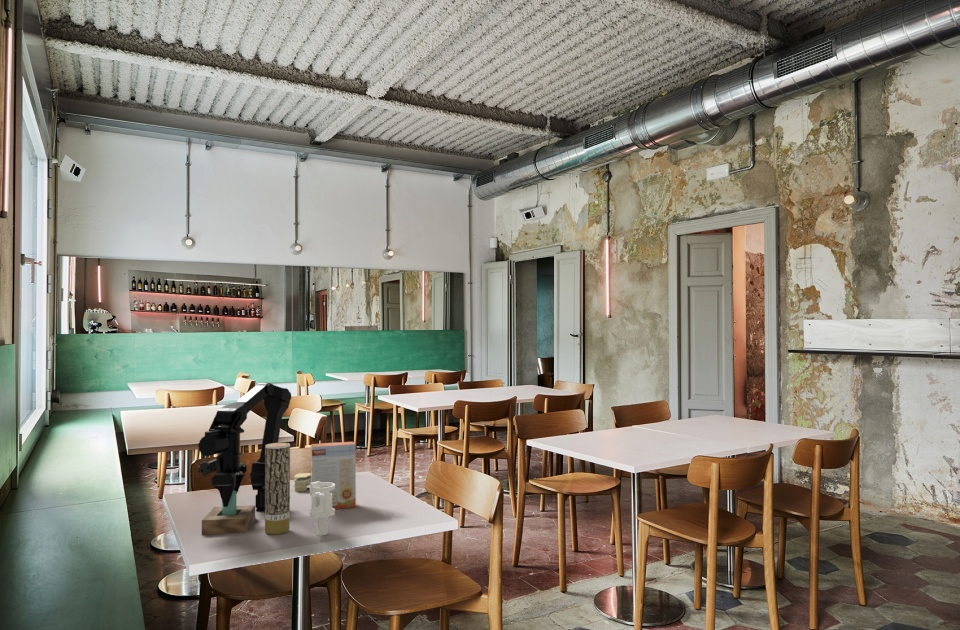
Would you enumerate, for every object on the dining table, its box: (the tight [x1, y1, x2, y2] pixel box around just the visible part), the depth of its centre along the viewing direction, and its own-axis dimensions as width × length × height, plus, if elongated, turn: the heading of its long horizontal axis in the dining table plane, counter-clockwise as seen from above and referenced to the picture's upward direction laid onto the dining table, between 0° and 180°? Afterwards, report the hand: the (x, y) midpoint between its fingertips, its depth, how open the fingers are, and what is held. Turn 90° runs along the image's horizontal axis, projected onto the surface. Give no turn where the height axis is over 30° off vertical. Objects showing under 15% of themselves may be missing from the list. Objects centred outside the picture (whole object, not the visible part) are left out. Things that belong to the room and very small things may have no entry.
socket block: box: [201, 504, 256, 535], centre depth 192 cm, size 12×14×4 cm
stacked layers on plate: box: [293, 472, 311, 492], centre depth 237 cm, size 10×9×6 cm
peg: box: [221, 491, 238, 516], centre depth 192 cm, size 4×4×10 cm
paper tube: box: [264, 442, 291, 536], centre depth 186 cm, size 7×7×25 cm
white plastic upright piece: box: [309, 481, 336, 536], centre depth 184 cm, size 7×7×15 cm
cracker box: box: [310, 441, 357, 510], centre depth 212 cm, size 14×6×21 cm, turn 108°
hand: (229, 502), depth 192 cm, fingers open, 9 cm apart
